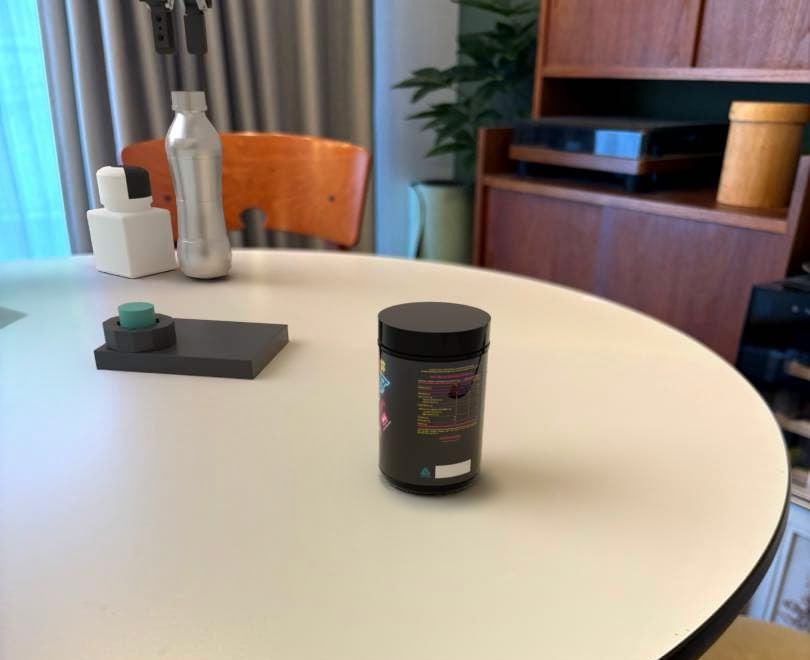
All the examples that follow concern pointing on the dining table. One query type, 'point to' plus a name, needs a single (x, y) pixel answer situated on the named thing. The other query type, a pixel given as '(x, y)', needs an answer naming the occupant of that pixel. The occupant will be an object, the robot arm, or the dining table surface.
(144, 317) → the button
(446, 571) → the dining table surface
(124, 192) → the medicine bottle
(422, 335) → the supplement container
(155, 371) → the dark grey button base
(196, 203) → the silver bottle
